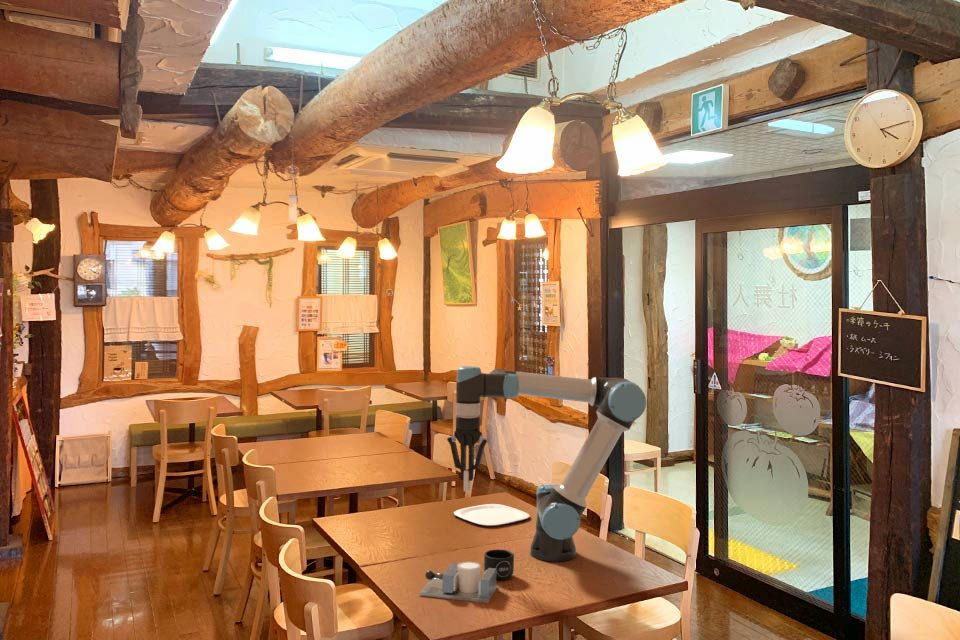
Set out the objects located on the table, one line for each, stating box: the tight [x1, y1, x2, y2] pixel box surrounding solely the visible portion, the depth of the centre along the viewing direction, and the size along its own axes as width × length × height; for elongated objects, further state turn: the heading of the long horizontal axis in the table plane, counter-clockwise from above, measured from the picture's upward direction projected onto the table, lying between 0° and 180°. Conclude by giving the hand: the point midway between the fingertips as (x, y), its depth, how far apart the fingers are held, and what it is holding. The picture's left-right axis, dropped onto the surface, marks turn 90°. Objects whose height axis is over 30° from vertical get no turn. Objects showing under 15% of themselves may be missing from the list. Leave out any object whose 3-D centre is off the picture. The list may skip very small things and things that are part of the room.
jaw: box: [424, 562, 459, 593], centre depth 227 cm, size 10×10×5 cm
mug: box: [483, 549, 515, 581], centre depth 240 cm, size 12×9×7 cm
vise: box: [419, 568, 498, 604], centre depth 226 cm, size 20×12×6 cm, turn 77°
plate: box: [452, 503, 531, 527], centre depth 303 cm, size 25×25×2 cm
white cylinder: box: [457, 561, 482, 593], centre depth 225 cm, size 7×7×7 cm
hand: (466, 490), depth 246 cm, fingers closed
